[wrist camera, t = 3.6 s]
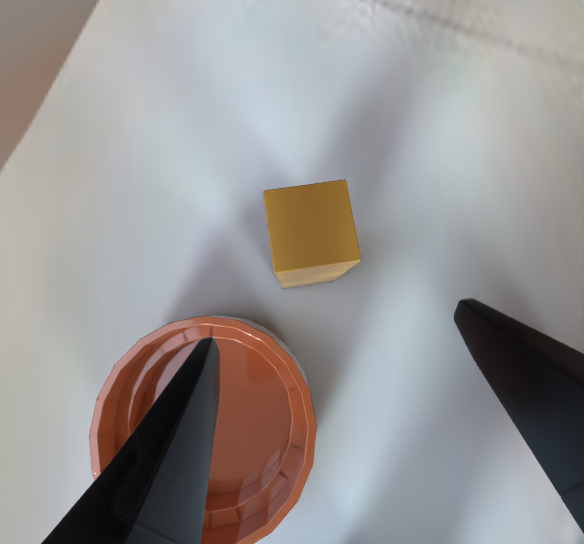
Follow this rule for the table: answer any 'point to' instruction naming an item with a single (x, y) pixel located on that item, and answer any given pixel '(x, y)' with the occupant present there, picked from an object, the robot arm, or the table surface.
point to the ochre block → (311, 233)
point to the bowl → (223, 420)
